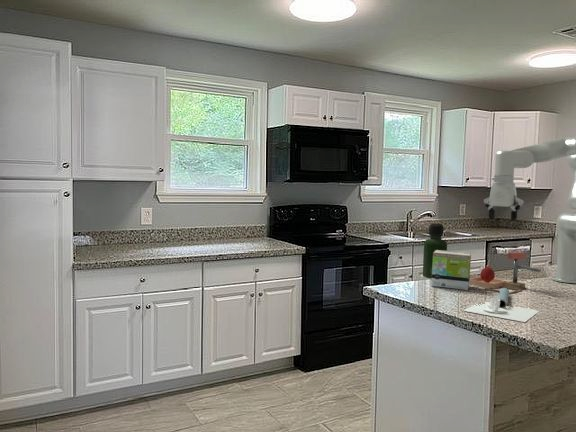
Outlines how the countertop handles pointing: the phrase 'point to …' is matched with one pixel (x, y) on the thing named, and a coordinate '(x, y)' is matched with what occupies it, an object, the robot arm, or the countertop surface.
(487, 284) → the dish
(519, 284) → the tan frame with plate
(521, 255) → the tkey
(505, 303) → the aluminum foil
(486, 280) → the onion
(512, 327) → the countertop surface
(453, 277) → the tea box
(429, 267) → the green bottle
